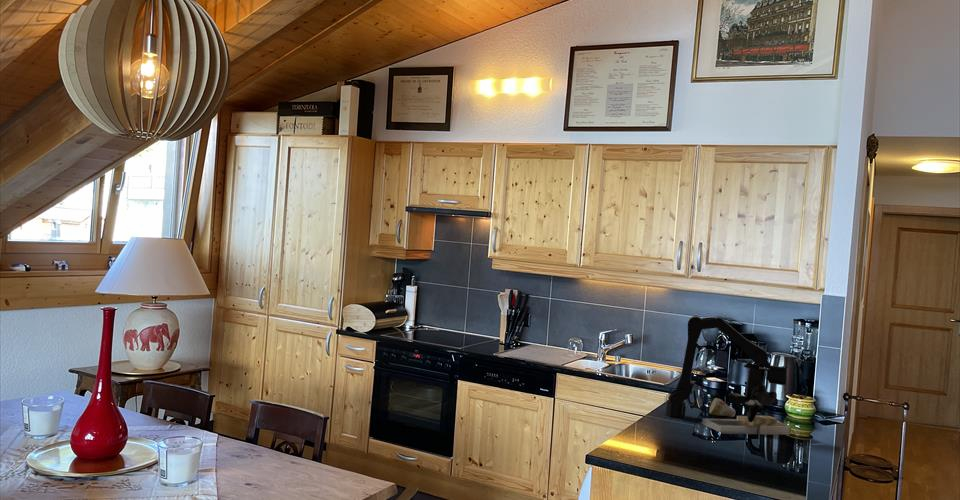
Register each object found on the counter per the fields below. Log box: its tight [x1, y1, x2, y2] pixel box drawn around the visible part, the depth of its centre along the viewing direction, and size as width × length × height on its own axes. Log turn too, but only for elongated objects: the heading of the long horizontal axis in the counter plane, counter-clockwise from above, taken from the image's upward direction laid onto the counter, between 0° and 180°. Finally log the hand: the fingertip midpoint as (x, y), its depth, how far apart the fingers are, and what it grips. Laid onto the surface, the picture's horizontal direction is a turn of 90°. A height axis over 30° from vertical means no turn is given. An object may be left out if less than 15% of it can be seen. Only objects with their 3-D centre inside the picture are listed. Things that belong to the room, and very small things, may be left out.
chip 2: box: [761, 415, 778, 426], centre depth 285 cm, size 4×4×4 cm
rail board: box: [700, 415, 792, 436], centre depth 282 cm, size 30×14×4 cm, turn 109°
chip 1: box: [748, 415, 767, 431], centre depth 284 cm, size 4×4×4 cm
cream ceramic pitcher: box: [708, 397, 736, 418], centre depth 302 cm, size 8×10×10 cm
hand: (750, 422), depth 282 cm, fingers closed
